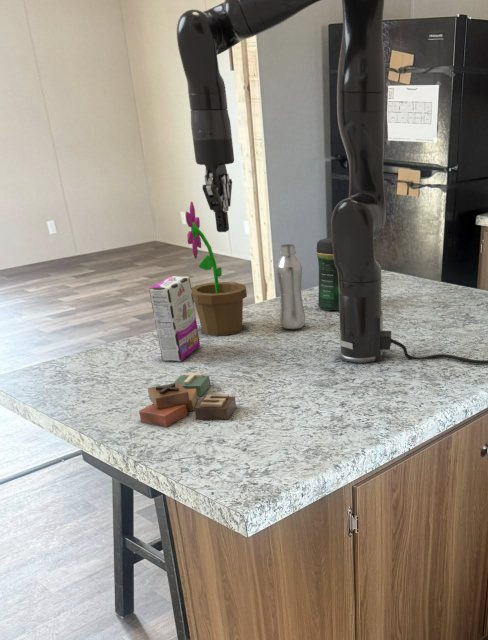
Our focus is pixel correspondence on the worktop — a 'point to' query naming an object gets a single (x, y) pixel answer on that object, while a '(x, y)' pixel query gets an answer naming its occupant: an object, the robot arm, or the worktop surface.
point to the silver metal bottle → (290, 288)
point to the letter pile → (168, 404)
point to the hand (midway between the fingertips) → (223, 231)
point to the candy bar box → (175, 318)
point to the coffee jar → (327, 276)
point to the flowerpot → (214, 290)
